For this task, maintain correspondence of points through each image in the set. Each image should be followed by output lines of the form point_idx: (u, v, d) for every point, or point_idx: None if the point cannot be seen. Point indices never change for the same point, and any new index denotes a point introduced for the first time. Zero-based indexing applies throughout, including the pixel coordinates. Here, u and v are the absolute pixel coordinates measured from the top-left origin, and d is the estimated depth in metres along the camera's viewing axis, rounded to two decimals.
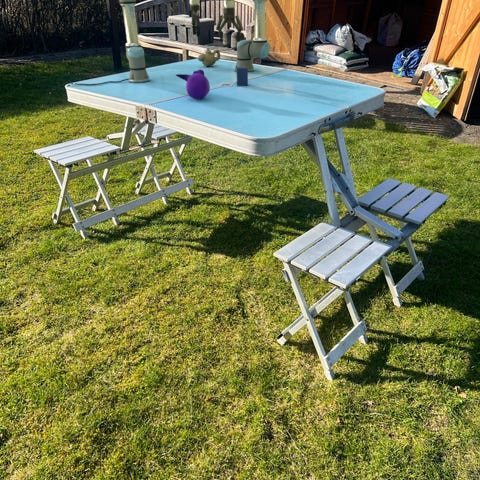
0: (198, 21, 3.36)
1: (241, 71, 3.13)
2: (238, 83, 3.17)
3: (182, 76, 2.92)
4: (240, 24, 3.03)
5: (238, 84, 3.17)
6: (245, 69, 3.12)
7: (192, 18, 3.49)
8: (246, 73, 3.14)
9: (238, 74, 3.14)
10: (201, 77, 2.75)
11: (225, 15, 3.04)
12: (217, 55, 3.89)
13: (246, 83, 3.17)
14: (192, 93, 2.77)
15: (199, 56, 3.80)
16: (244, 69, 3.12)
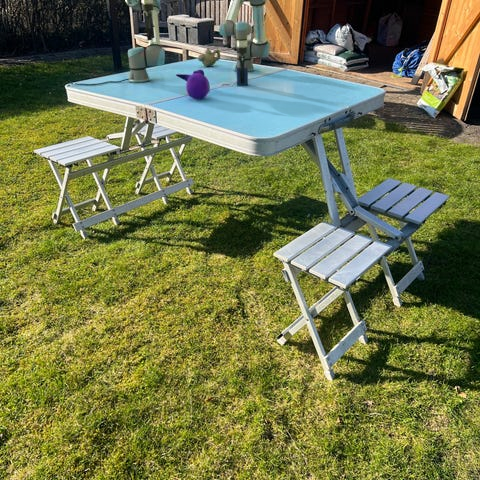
0: None
1: None
2: (238, 83, 3.17)
3: (182, 76, 2.92)
4: (242, 67, 3.08)
5: (238, 84, 3.17)
6: (245, 69, 3.12)
7: (148, 20, 2.92)
8: (246, 73, 3.14)
9: (238, 74, 3.14)
10: (201, 77, 2.75)
11: None
12: (217, 55, 3.89)
13: (246, 83, 3.17)
14: (192, 93, 2.77)
15: (199, 56, 3.80)
16: (244, 69, 3.12)
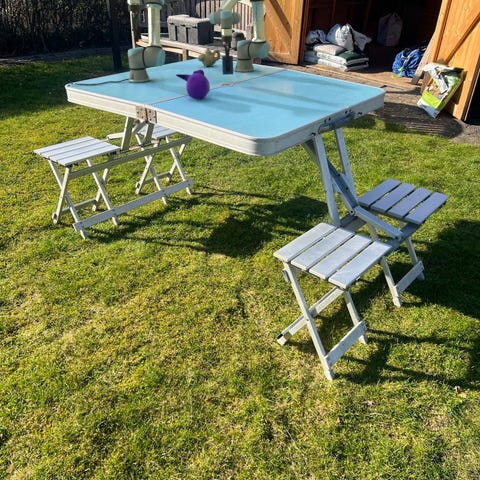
0: None
1: None
2: (224, 72, 3.20)
3: (182, 76, 2.92)
4: (227, 55, 3.11)
5: (224, 72, 3.21)
6: (231, 58, 3.16)
7: (135, 22, 2.81)
8: (231, 61, 3.17)
9: (223, 62, 3.17)
10: (201, 77, 2.75)
11: None
12: (217, 55, 3.89)
13: (231, 71, 3.21)
14: (192, 93, 2.77)
15: (199, 56, 3.80)
16: None
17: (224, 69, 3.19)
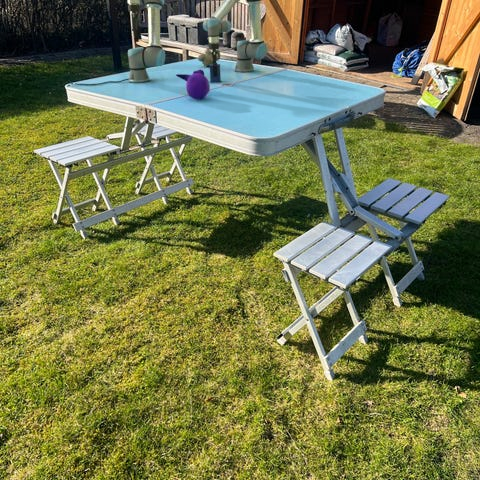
0: None
1: None
2: (211, 80, 3.30)
3: (182, 76, 2.92)
4: (214, 60, 3.18)
5: (211, 80, 3.30)
6: (218, 66, 3.25)
7: (135, 22, 2.81)
8: (219, 70, 3.26)
9: (211, 71, 3.26)
10: (201, 77, 2.75)
11: None
12: (217, 55, 3.89)
13: (219, 79, 3.30)
14: (192, 93, 2.77)
15: (199, 56, 3.80)
16: None
17: (212, 77, 3.29)
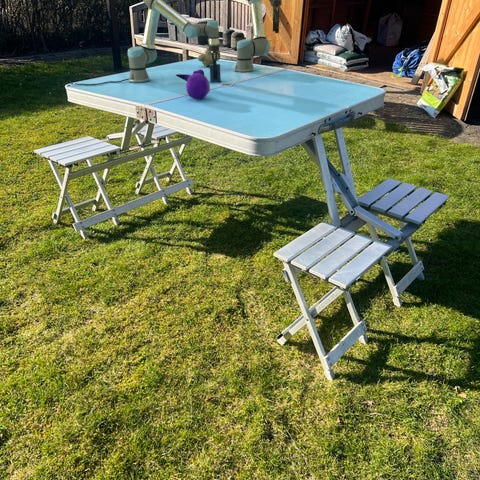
0: None
1: None
2: (211, 80, 3.30)
3: (182, 76, 2.92)
4: (277, 16, 3.16)
5: (211, 80, 3.30)
6: (218, 66, 3.25)
7: (215, 62, 3.21)
8: (219, 70, 3.26)
9: (211, 71, 3.26)
10: (201, 77, 2.75)
11: (274, 7, 3.23)
12: (217, 55, 3.89)
13: (219, 79, 3.30)
14: (192, 93, 2.77)
15: (199, 56, 3.80)
16: None
17: (212, 77, 3.29)
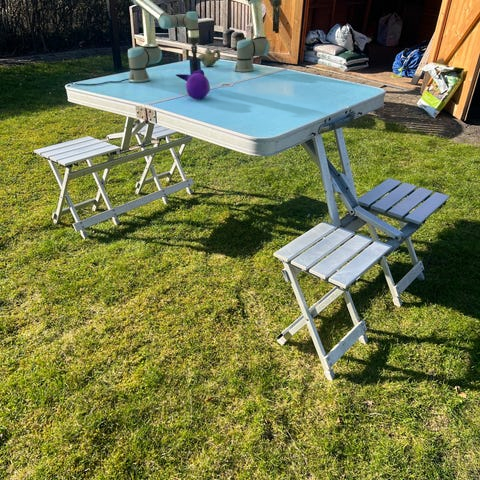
0: None
1: None
2: None
3: (182, 76, 2.92)
4: (277, 16, 3.16)
5: None
6: (198, 60, 3.11)
7: (195, 55, 3.07)
8: (199, 63, 3.12)
9: (191, 64, 3.12)
10: (201, 77, 2.75)
11: (274, 7, 3.23)
12: (217, 55, 3.89)
13: None
14: (192, 93, 2.77)
15: (199, 56, 3.80)
16: (197, 59, 3.10)
17: (192, 71, 3.14)
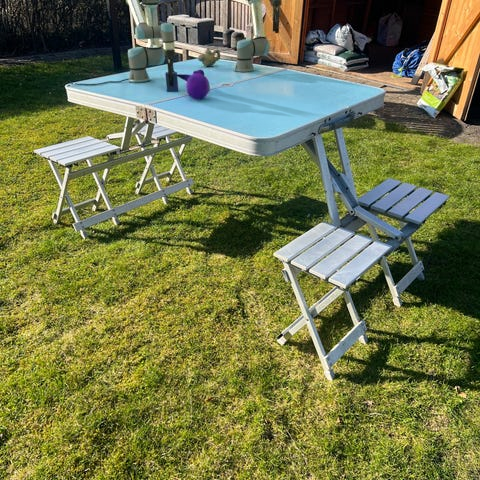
0: None
1: None
2: (168, 89, 3.05)
3: (182, 76, 2.92)
4: (277, 16, 3.16)
5: (168, 90, 3.05)
6: (174, 74, 3.00)
7: None
8: (175, 78, 3.02)
9: (167, 79, 3.02)
10: (201, 77, 2.75)
11: (274, 7, 3.23)
12: (217, 55, 3.89)
13: (176, 89, 3.05)
14: (192, 93, 2.77)
15: (199, 56, 3.80)
16: (173, 74, 3.00)
17: (168, 86, 3.04)
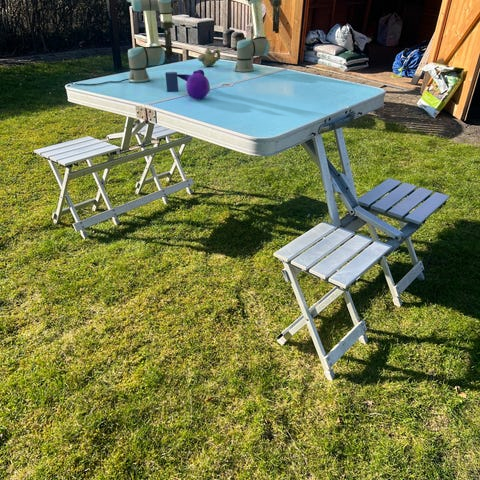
0: None
1: (170, 76, 3.01)
2: (168, 89, 3.05)
3: (182, 76, 2.92)
4: (277, 16, 3.16)
5: (168, 90, 3.05)
6: (174, 74, 3.00)
7: None
8: (175, 78, 3.02)
9: (167, 79, 3.02)
10: (201, 77, 2.75)
11: (274, 7, 3.23)
12: (217, 55, 3.89)
13: (176, 89, 3.05)
14: (192, 93, 2.77)
15: (199, 56, 3.80)
16: (173, 74, 3.00)
17: (168, 86, 3.04)
